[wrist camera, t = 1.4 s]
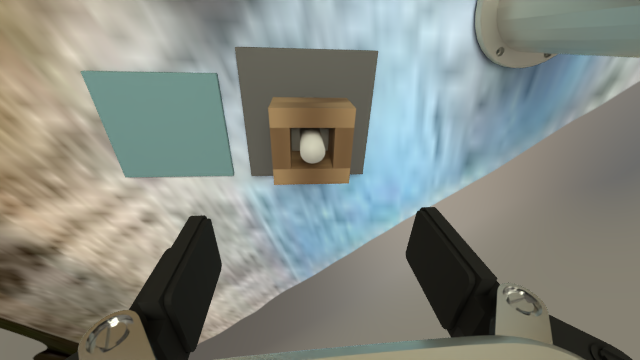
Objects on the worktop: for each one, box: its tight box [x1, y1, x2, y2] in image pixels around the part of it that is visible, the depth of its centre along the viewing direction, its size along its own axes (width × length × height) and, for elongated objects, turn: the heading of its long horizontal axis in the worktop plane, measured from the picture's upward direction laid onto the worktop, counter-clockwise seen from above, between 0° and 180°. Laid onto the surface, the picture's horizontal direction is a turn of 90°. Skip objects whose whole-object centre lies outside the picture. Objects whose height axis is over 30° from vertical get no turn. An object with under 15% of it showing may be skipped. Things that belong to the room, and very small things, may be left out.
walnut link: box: [268, 97, 356, 185], centre depth 21 cm, size 7×7×4 cm
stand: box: [235, 47, 378, 176], centre depth 24 cm, size 14×14×11 cm
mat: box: [81, 71, 234, 177], centre depth 28 cm, size 13×12×1 cm
